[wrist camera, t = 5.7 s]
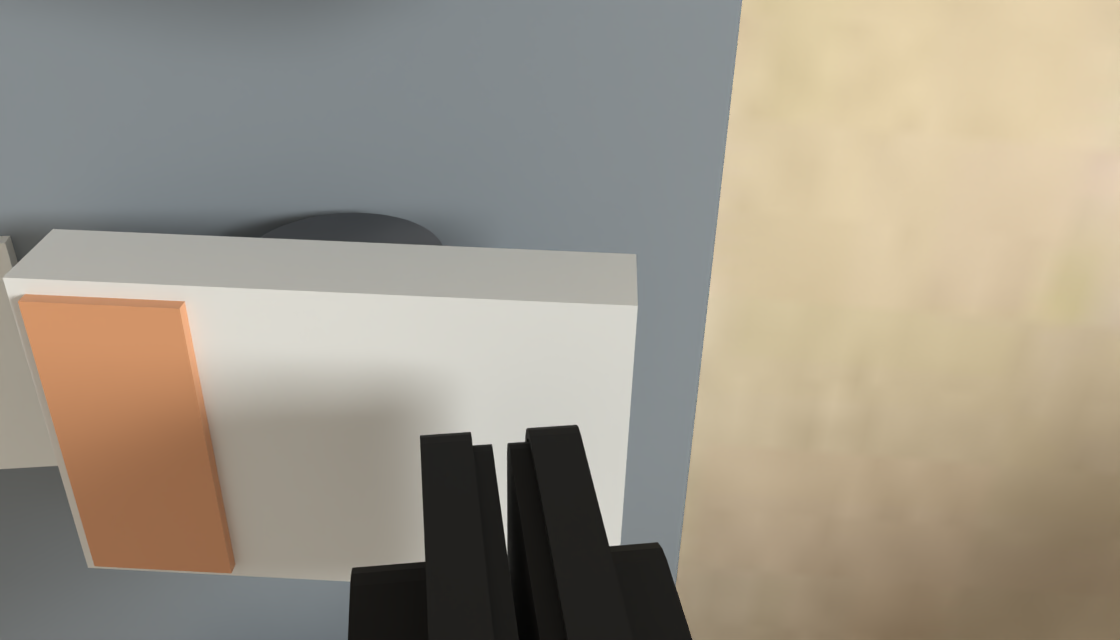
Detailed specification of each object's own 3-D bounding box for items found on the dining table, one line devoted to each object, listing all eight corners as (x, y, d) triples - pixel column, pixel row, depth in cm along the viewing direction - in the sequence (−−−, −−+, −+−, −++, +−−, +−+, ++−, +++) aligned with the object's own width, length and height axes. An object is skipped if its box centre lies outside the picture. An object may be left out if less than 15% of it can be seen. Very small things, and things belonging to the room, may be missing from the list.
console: (725, -766, 12) (857, -947, 9) (615, 673, 25) (650, 836, 22) (-512, -865, 11) (-971, -1136, 7) (54, 722, 24) (-8, 906, 20)
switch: (634, 210, 13) (638, 313, 11) (617, 476, 16) (616, 604, 13) (95, 187, 14) (-6, 285, 11) (156, 453, 16) (82, 576, 14)
